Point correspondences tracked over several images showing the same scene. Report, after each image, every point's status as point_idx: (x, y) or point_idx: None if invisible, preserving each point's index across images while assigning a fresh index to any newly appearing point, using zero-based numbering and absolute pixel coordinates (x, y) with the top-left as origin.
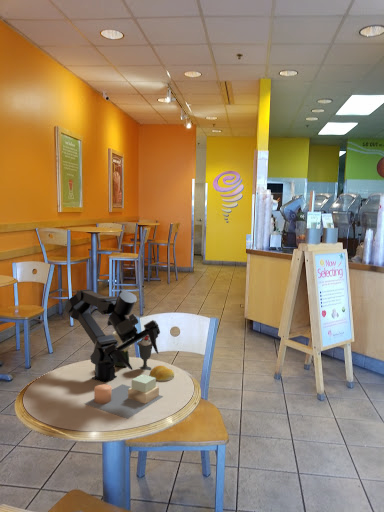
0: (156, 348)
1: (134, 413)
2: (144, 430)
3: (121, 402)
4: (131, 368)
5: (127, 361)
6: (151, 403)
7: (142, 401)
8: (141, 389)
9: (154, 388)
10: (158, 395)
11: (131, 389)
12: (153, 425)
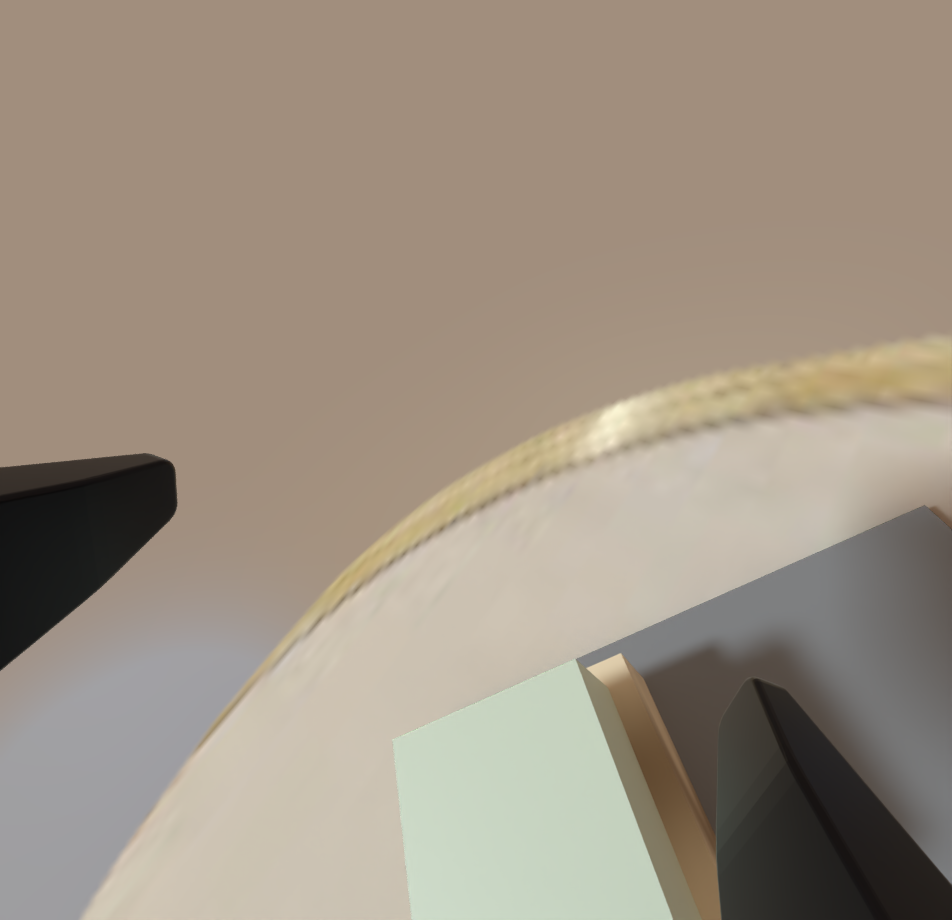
0: (72, 460)
1: (824, 564)
2: (826, 358)
3: None
4: (766, 682)
5: (862, 868)
6: (598, 653)
7: (659, 714)
8: (625, 741)
9: None
10: None
11: (720, 914)
12: (738, 394)
